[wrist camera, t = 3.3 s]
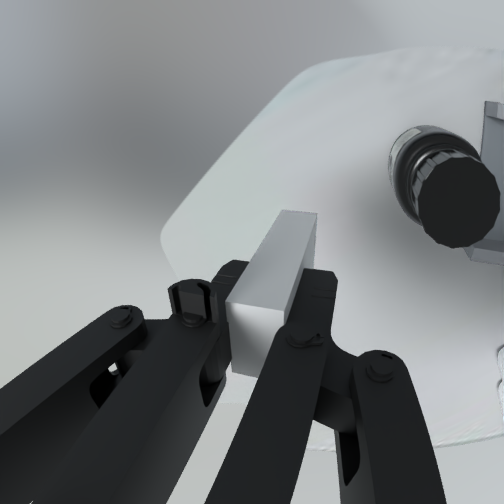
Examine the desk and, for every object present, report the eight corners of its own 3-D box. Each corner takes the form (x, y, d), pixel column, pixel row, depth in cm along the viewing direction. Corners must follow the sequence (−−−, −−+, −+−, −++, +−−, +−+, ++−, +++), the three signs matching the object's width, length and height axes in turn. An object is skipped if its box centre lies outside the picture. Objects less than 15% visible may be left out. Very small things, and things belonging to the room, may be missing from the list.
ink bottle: (385, 119, 28) (402, 131, 18) (465, 123, 25) (516, 140, 15) (387, 210, 32) (399, 265, 22) (462, 212, 29) (500, 266, 19)
